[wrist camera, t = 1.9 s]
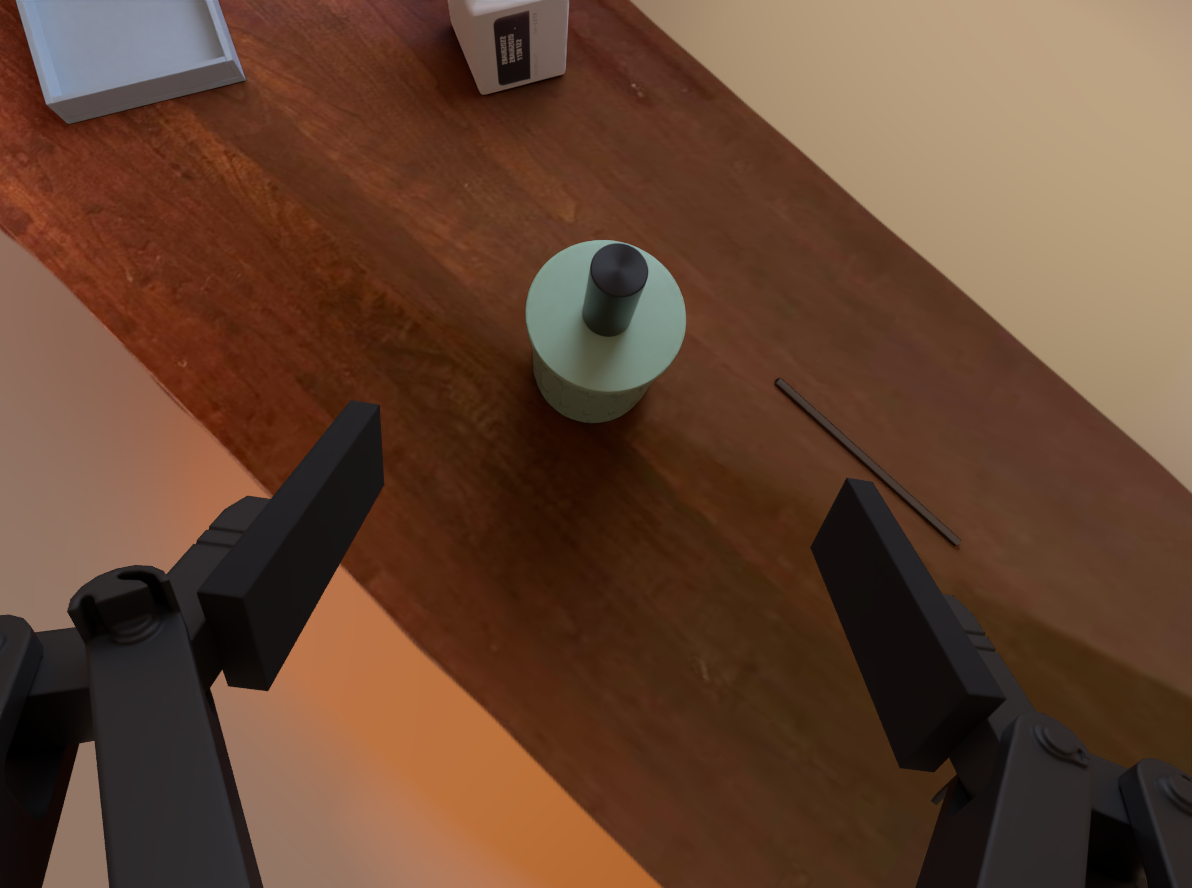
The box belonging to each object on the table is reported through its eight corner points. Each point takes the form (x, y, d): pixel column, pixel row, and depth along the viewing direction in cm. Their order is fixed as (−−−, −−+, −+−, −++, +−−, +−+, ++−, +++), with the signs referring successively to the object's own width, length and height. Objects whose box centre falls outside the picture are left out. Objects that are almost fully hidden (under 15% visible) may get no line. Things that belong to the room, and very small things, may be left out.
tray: (67, 124, 43) (45, 104, 41) (26, -17, 45) (3, -42, 43) (246, 80, 45) (233, 59, 44) (199, -53, 47) (184, -78, 45)
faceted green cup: (559, 440, 43) (564, 409, 33) (517, 334, 44) (510, 276, 34) (666, 399, 44) (700, 359, 35) (622, 298, 45) (643, 232, 36)
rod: (776, 377, 45) (780, 374, 45) (956, 539, 44) (963, 539, 44) (771, 383, 45) (774, 381, 45) (951, 545, 44) (957, 546, 44)
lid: (560, 420, 34) (565, 388, 27) (502, 277, 35) (494, 214, 28) (706, 365, 35) (743, 323, 29) (645, 230, 37) (668, 161, 30)
